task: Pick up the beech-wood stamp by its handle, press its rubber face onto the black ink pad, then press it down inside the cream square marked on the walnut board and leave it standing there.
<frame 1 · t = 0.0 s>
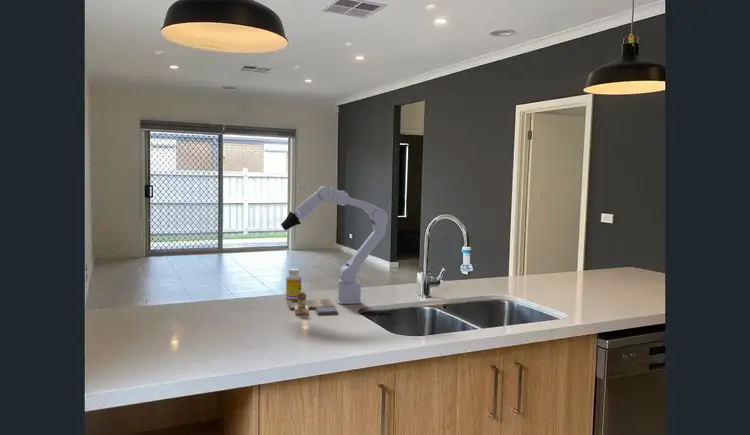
hand: (283, 227, 223), 32 cm above the worktop, tool tilted 50°, fingers open, 7 cm apart
stamp: (301, 313, 212), on the worktop
board: (310, 305, 224), on the worktop
ink pad: (326, 312, 214), on the worktop
supplement bottle: (293, 298, 237), on the worktop
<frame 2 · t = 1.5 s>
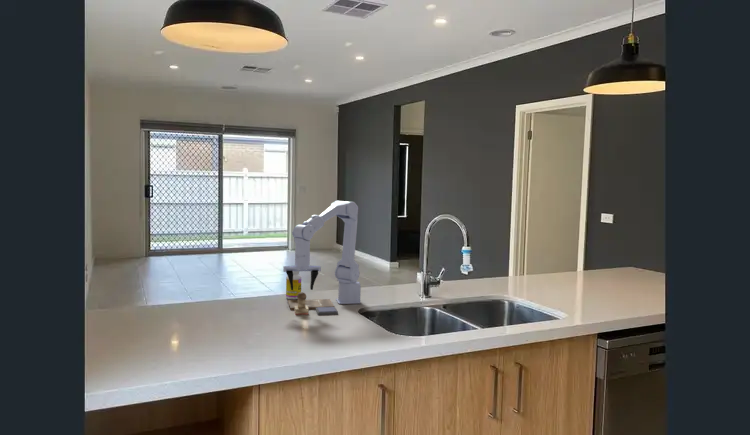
hand: (301, 289, 211), 9 cm above the worktop, tool pointing down, fingers open, 7 cm apart
nothing on the worktop moved.
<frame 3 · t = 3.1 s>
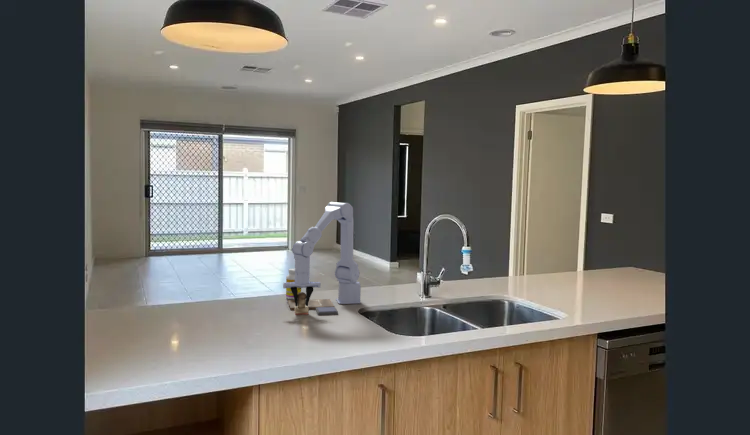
hand: (301, 305, 211), 3 cm above the worktop, tool pointing down, fingers closed on stamp, 3 cm apart
stamp: (301, 313, 212), on the worktop, touching gripper
everything else where it was.
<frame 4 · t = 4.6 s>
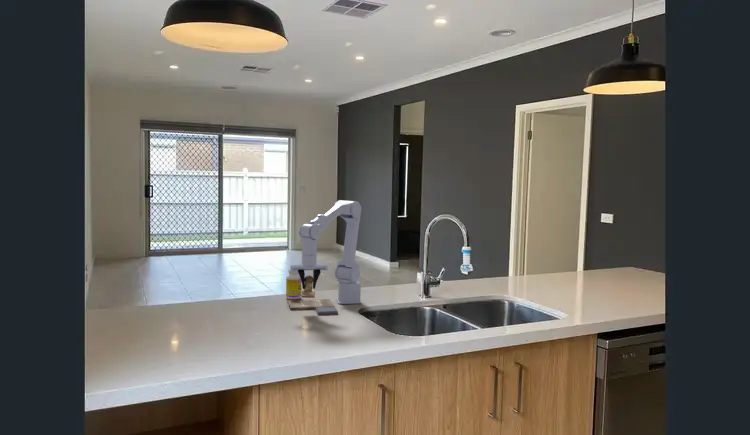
hand: (308, 288, 212), 10 cm above the worktop, tool pointing down, fingers closed on stamp, 3 cm apart
stamp: (307, 296, 212), point 7 cm above the worktop, touching gripper
everything else where it was.
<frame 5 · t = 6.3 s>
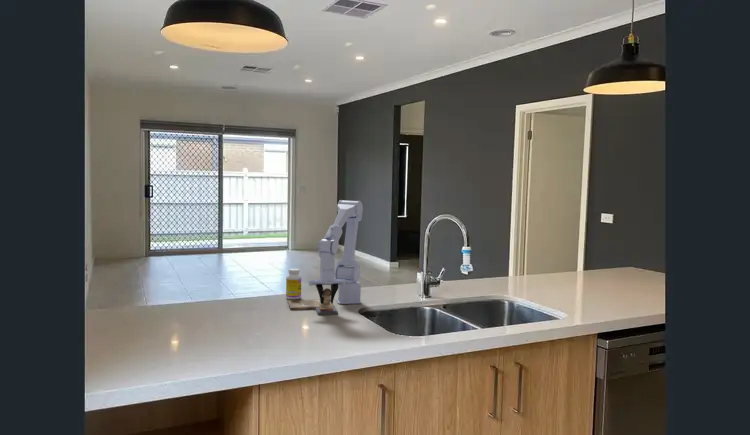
hand: (326, 302, 214), 4 cm above the worktop, tool pointing down, fingers closed on stamp, 3 cm apart
stamp: (325, 309, 214), point 1 cm above the worktop, touching gripper, ink pad
everything else where it was.
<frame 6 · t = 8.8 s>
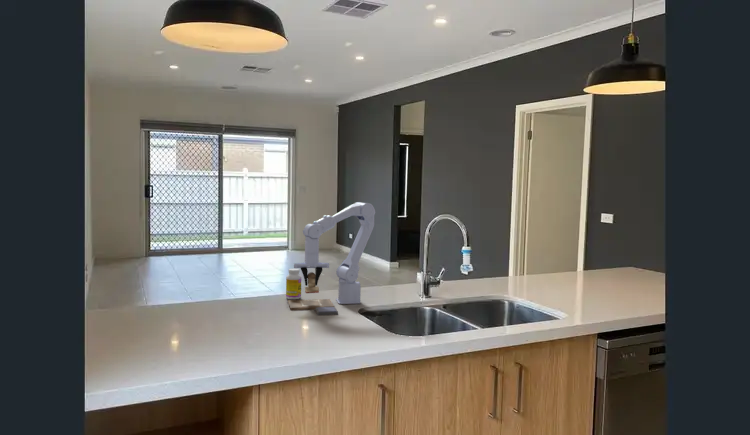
hand: (311, 285, 223), 9 cm above the worktop, tool pointing down, fingers closed on stamp, 3 cm apart
stamp: (312, 292, 222), point 6 cm above the worktop, tilted 8°, touching gripper
everything else where it was.
when the fingers open (4 cm above the worktop, at t = 11.0 s): stamp stays where it is, resting on board.
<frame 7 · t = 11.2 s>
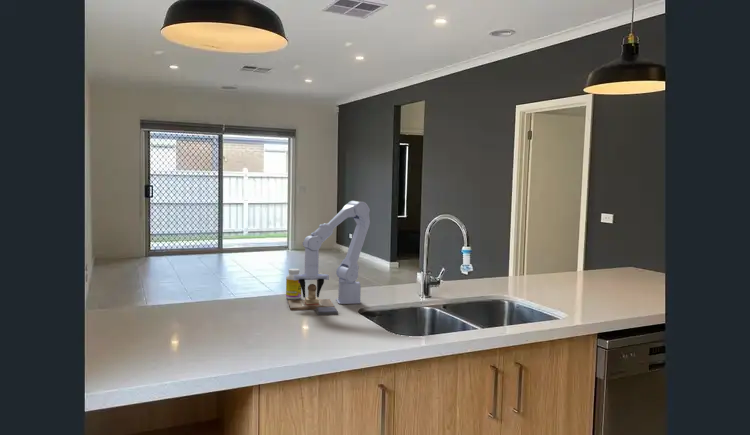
hand: (310, 296, 224), 4 cm above the worktop, tool pointing down, fingers open, 5 cm apart
stamp: (311, 303, 223), point 1 cm above the worktop, touching board
everything else where it was.
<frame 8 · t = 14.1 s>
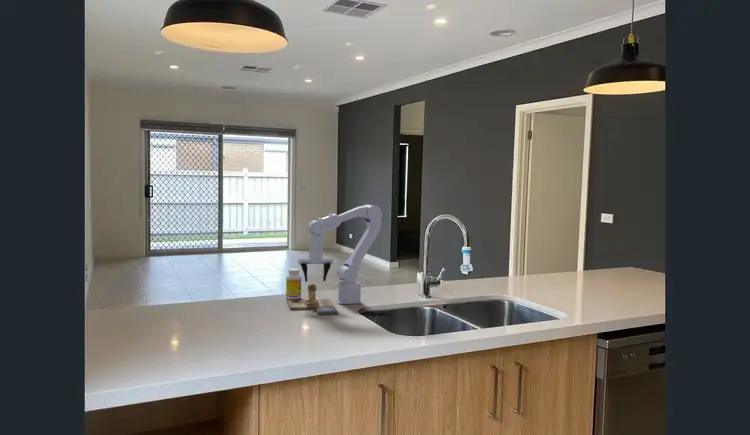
hand: (315, 281, 226), 10 cm above the worktop, tool pointing down, fingers open, 7 cm apart
nothing on the worktop moved.
at the end: stamp 1.4 cm off-centre on the board, point 1.1 cm above the board's base; stamp tilted 1°; the gripper is holding nothing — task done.
